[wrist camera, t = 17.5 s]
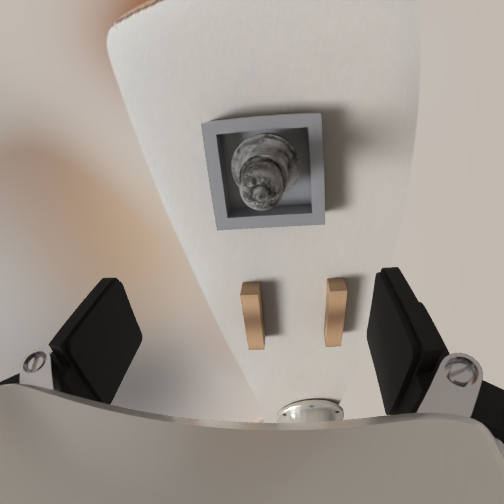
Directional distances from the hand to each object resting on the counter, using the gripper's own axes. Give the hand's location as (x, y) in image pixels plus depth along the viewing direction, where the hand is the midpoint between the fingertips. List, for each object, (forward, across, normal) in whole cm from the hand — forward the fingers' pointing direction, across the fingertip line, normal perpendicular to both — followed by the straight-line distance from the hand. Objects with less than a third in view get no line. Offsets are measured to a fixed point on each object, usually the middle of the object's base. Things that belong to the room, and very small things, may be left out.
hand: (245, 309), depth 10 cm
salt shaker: (+21, 0, -2) cm, 21 cm away
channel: (+21, -2, +17) cm, 27 cm away
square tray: (+21, 0, -1) cm, 21 cm away
